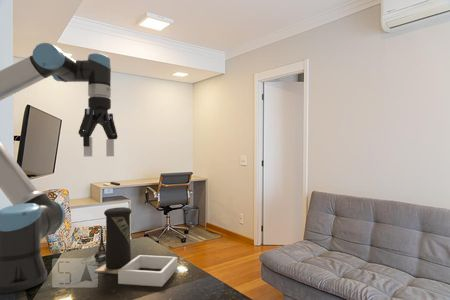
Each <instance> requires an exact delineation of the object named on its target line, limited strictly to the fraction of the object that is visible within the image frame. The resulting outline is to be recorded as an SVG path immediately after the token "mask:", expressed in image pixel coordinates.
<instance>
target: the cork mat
mask: <svg viewBox="0 0 450 300" xmlns="http://www.w3.org/2000/svg"><path fill="white" fill-rule="evenodd" d="M132 260H133V259H131V261H132ZM118 270H119V269H109V268H107V267H106V263H104V264H103V265H100V266H99V267H98V268H97V269H95V270H94V273H102V274H115V275H116V274H117V275H118Z"/></svg>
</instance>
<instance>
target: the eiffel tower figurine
mask: <svg viewBox="0 0 450 300" xmlns="http://www.w3.org/2000/svg"><path fill="white" fill-rule="evenodd" d="M103 228H104V227H103V226H101V227H100V240H99V245H98V249H97V250H96V253H94V254H93V255H90V256H88V257H86V258H84V259H82V260H81V264H86V265H87V264H88V266H89V265H90V266H101V264H99V263H96V262H99V261H104V260H105V261H106V247H105V244H104V235H103Z"/></svg>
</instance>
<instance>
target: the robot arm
mask: <svg viewBox="0 0 450 300" xmlns="http://www.w3.org/2000/svg"><path fill="white" fill-rule="evenodd" d="M111 72H112V68H111V59H110V57H109V56H108V55H106V54H103V53H97V52H95V53H90V54H88V56H87V59H85V60H80V59H79V60H77V59H73V58H71V56H69V55H68V54H67V53H65V52H63V51H62V49H60V48H59V47H57V46H55V45H54V44H52V43H49V42H42V43H39V44H36V46H35V48H34V49H33V50H32V55H29V56H28V57H26V58H24V59H22V60H20V61H17V62H15V63H13V64H11V65H9V66H7V67H5V68H3V69H1V70H0V101H3V100H4V99H7V98H8V97H10V96H13V95H14V94H17V93H19V92H20V91H22V90H25V89H27V88H29V87H31V86H33V85H35V84H36V83H38V82H40V81H43V80H45V79H46V78H49V77H52V78H53V79H54V80H55V81H56V82H64V83H70V82H73V83H77V82H80V83H81V82H82V83H83V82H84V83H85V82H86V83H88V85H87V95H88V99H87V100H88V101H87V104H88V106H87V107H88V108H85V109H84V115H83V116H82V117H83V118H82V121H81V124H80V126H79V129H78V132H77V133H78V135H79V137H80V138H83V140H82V141H83V143H82V146H83V157H93V137H92V134H93V132H94V131H95V129H96V127H97V125H98V124H99V125H100V126H102V127H101V128H102V129H103V131H104V133H105V136H106V138H107V139H106V141H105V143H106V153H105V154H106V157H115V140H117V139H118V133H117V129H116V125H115V120H114V114H113V113H111V112H110V113H109V112H108V110H111V107H112V104H111V103H112V100H111V97H112V96H111V92H112V89H111V79H112V77H111V75H112V73H111ZM27 175H28V174H26V173H25V171H24V170H23V169H22V168H21V166H20V165H19V163H18V162H17V160H15V158H14V156H12V154H11V153H10V151H9V150H8V149H7V148H6V146H5V145H4V144H3V142H2V141H1V140H0V190H1V192H2V193H4V195H5V196H6V198H7V199H8V201H9V202H10V203H11V205H8V206H6V207H2V209H0V295H2V294H12V293H17V292H22V291H25V290H27V289H31V288H34V287H36V286H38V285H40V284H42V283H44V282H45V281H46V280H47V278H48V268H47V267H46V265H45V262H44V259H43V257H42V252H41V251H42V250H41V249H42V246H41V245H42V243H41V242H42V241H41V239H43V238H45V237H47V236H49V235H53V234H54V233H55V232H56V231H58V230H59V229H60V228H62V226H63V224H64V222H65V219H66V210H65V208H64V207H63V205H62V204H61V203H59V202H58V201H55V200H52V199H51V198H50V197H49V195H48V194H47V193H46V192H44V191H39V190H38V189H37V187H36V186H35V185H34V183H33V182H32V181H31V180H30V178H29V177H28V176H27Z"/></svg>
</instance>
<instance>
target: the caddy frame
mask: <svg viewBox="0 0 450 300" xmlns="http://www.w3.org/2000/svg"><path fill="white" fill-rule="evenodd" d="M131 260H132V261H130V262H129V263H128V264H126V265H125V266H123V267H122V268H121V269H119V270H118V274H117V284H119V285H130V286H131V285H132V286H133V285H134V286H148V287H163V286H164V285H165V284H166V283H167V282H168V280H169V279H170V278H171V277H172V276H173V275H174V273H175V272H176V271H177V270H178V269H177V268H178V257H177V256H170V255H169V256H167V255H150V254H149V255H147V254H146V255H145V254H139V255H137V256H135V258H133V259H131ZM141 268H142V269H154V270H141ZM155 269H156V270H157V271H156V270H155ZM158 269H159V271H158Z"/></svg>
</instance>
